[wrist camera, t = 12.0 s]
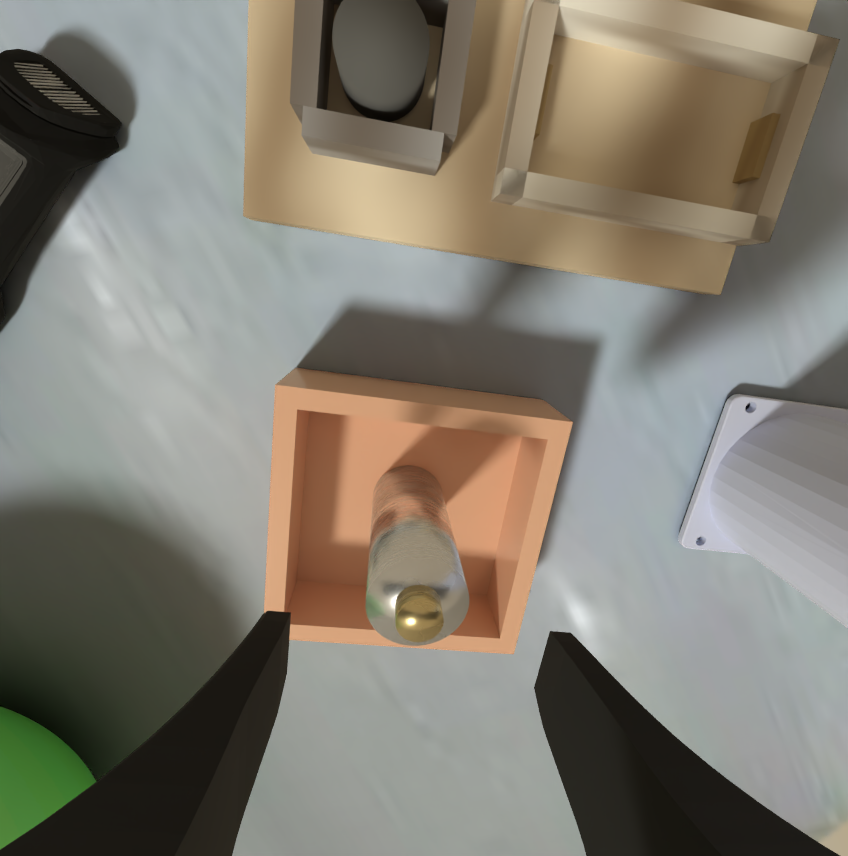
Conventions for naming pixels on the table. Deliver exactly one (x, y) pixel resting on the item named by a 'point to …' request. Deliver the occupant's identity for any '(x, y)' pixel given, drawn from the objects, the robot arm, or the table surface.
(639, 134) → the wooden board with compartments
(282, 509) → the dish
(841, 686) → the table surface
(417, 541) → the cell
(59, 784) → the toy bird
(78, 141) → the electric trimmer
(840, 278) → the table surface
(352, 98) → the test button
